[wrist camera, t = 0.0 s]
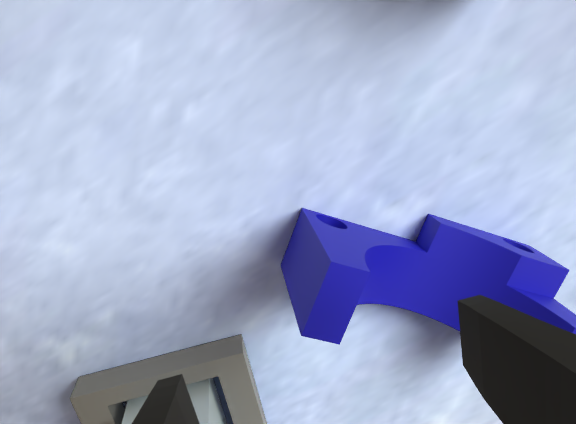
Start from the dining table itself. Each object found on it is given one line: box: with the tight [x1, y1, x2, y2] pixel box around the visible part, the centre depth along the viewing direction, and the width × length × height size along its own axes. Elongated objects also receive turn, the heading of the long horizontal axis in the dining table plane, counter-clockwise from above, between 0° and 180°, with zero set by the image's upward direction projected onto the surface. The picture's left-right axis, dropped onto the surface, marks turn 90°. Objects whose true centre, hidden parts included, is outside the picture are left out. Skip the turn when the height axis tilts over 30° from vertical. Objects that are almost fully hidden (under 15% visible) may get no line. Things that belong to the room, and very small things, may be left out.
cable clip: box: [281, 208, 576, 344], centre depth 20 cm, size 12×4×6 cm, turn 70°
